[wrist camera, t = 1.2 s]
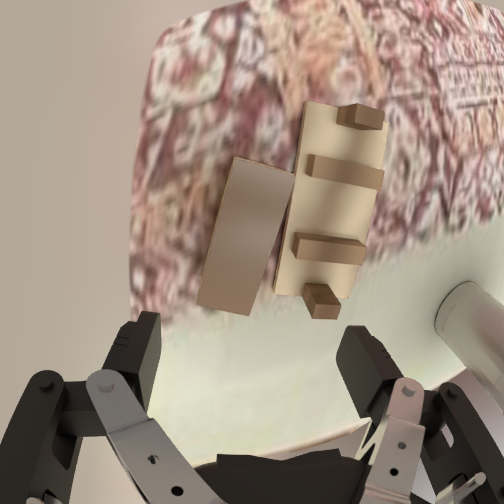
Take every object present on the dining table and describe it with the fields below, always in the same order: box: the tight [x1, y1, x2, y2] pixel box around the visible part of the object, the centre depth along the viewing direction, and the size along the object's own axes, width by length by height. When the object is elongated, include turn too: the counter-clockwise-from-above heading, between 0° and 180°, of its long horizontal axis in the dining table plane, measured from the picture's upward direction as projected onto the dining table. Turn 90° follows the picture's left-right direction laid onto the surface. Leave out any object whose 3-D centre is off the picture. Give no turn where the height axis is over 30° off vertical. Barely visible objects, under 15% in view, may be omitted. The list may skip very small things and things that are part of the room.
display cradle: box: [273, 101, 389, 320], centre depth 24 cm, size 8×18×5 cm, turn 172°
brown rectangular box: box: [196, 155, 296, 316], centre depth 24 cm, size 5×12×5 cm, turn 163°
